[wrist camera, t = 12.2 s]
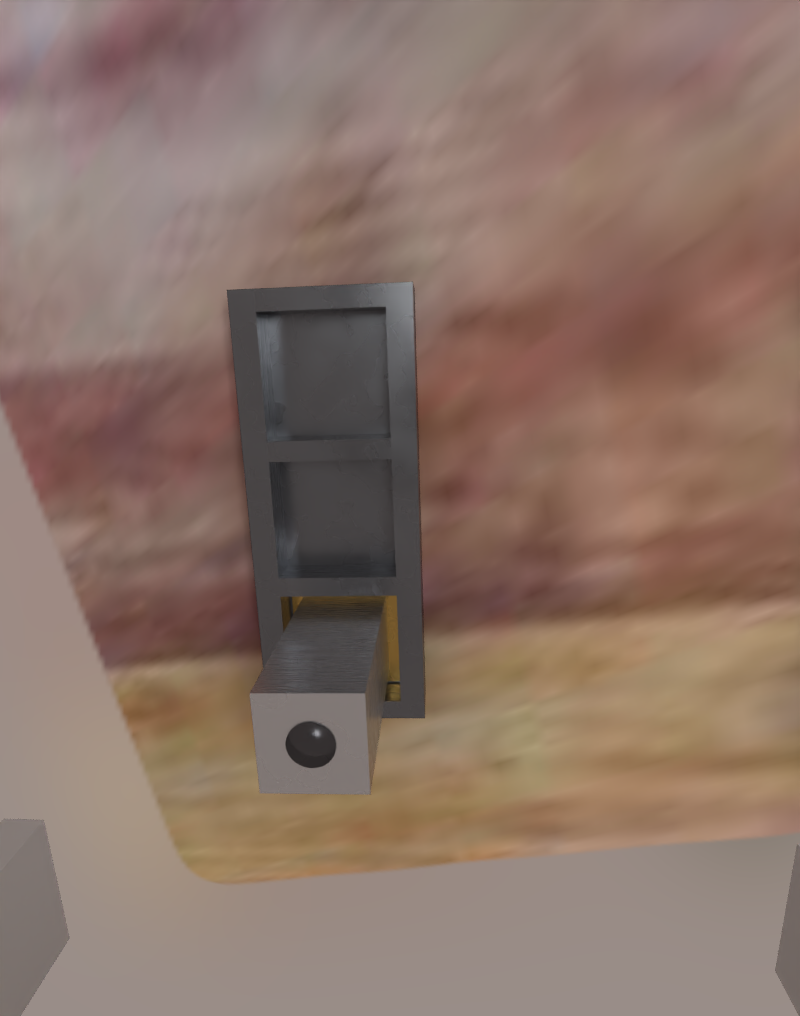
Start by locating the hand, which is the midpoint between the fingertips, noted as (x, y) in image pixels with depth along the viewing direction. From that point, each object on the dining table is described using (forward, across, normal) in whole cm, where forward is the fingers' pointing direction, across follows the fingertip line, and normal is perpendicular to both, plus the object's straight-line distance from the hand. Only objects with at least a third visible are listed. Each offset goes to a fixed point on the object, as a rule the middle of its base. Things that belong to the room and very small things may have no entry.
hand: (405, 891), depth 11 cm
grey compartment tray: (+22, -5, +1) cm, 23 cm away
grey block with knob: (+22, -5, -6) cm, 23 cm away
